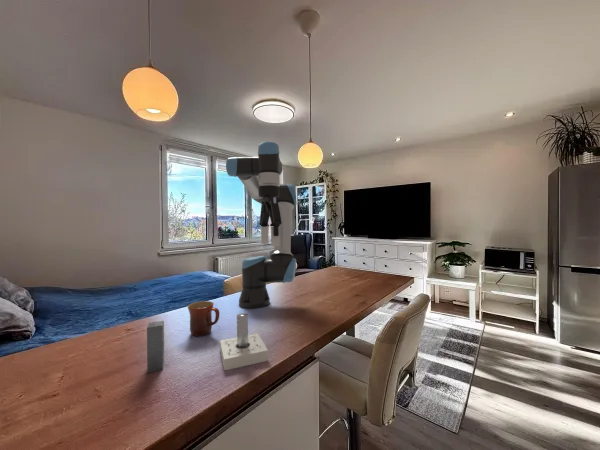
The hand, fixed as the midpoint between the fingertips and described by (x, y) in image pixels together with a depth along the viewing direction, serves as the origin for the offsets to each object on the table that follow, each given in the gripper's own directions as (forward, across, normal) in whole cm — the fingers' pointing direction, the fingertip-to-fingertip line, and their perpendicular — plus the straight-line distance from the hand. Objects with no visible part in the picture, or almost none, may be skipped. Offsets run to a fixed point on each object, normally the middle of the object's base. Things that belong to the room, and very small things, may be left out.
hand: (269, 244), depth 90 cm
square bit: (+32, +9, -35) cm, 48 cm away
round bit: (+32, +12, -12) cm, 36 cm away
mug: (+32, -9, -22) cm, 40 cm away
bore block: (+32, +12, -12) cm, 36 cm away
